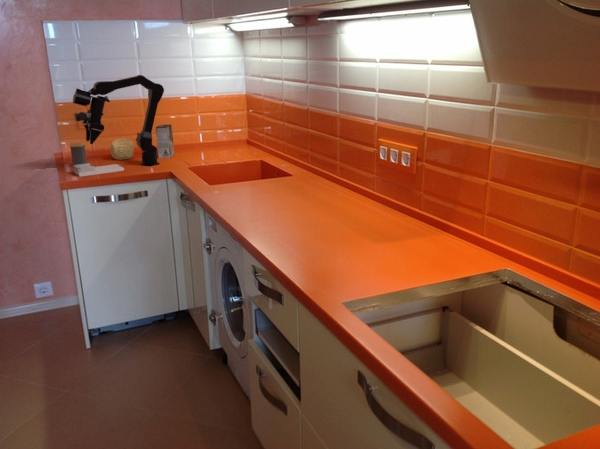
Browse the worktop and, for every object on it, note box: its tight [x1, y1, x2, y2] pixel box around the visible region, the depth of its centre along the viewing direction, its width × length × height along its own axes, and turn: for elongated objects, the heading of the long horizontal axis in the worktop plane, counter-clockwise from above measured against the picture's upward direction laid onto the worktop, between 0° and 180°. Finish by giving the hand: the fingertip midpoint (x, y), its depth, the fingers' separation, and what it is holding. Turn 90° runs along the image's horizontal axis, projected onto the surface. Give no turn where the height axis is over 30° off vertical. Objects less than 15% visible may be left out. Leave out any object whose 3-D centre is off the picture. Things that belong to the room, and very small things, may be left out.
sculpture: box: [109, 137, 135, 161], centre depth 281 cm, size 12×12×11 cm
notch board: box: [72, 162, 125, 178], centre depth 255 cm, size 20×11×4 cm, turn 124°
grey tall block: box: [69, 142, 88, 168], centre depth 265 cm, size 5×5×11 cm
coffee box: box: [155, 124, 175, 159], centre depth 285 cm, size 9×6×16 cm
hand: (89, 142), depth 251 cm, fingers open, 9 cm apart
